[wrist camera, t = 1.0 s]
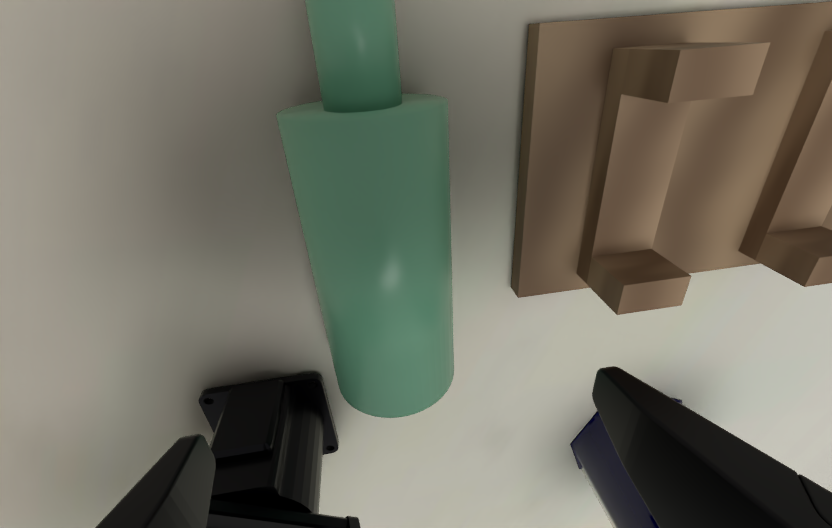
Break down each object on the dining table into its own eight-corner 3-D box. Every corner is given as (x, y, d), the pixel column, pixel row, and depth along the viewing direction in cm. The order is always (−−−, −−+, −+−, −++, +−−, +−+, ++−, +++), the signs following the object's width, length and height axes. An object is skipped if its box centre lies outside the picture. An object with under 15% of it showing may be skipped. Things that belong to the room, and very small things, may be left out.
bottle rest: (937, -6, 17) (1116, -21, 13) (811, 245, 23) (907, 287, 19) (528, 24, 15) (591, 17, 11) (511, 287, 21) (547, 342, 17)
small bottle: (444, 326, 22) (464, 409, 17) (342, 337, 21) (332, 425, 16) (431, -36, 14) (462, -79, 9) (267, -25, 13) (205, -63, 8)
